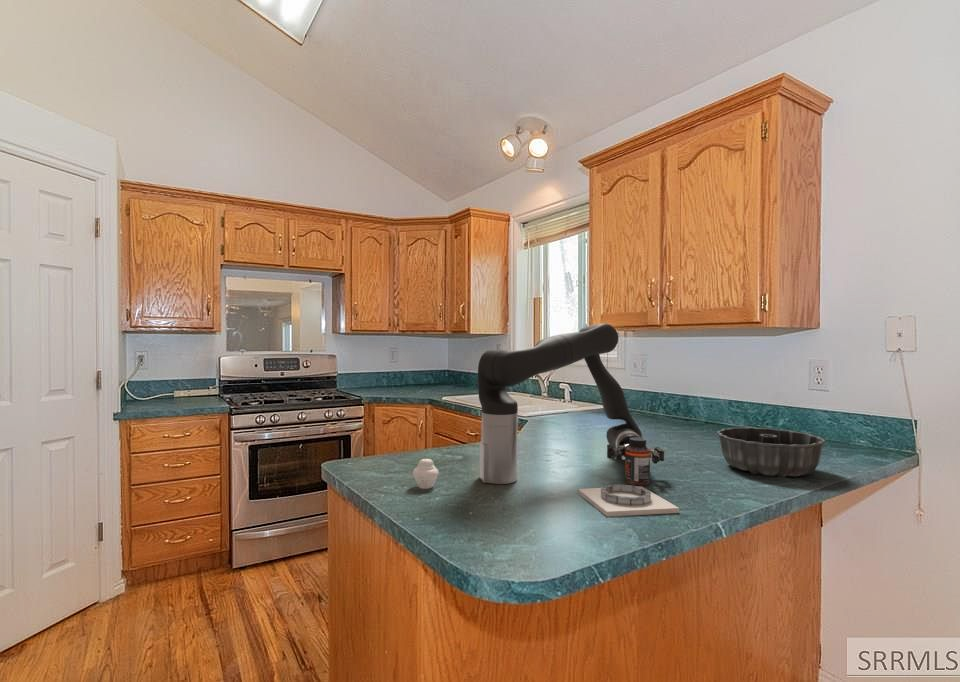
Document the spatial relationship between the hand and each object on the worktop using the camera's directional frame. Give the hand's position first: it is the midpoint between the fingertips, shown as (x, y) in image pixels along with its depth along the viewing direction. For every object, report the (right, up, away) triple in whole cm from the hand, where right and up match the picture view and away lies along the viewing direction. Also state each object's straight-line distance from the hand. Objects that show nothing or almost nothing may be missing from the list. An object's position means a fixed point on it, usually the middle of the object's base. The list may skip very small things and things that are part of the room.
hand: (638, 458), depth 125 cm
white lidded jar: (-53, -6, -4) cm, 53 cm away
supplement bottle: (0, -7, +1) cm, 7 cm away
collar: (-7, -6, -14) cm, 17 cm away
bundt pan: (+42, -7, +17) cm, 46 cm away
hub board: (-7, -6, -14) cm, 17 cm away
